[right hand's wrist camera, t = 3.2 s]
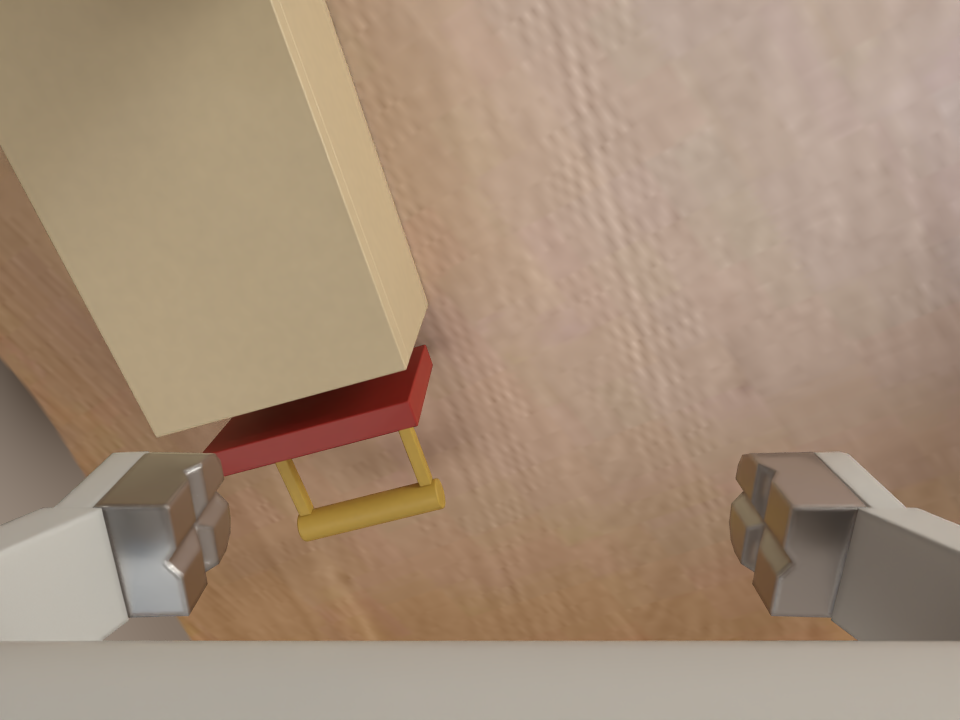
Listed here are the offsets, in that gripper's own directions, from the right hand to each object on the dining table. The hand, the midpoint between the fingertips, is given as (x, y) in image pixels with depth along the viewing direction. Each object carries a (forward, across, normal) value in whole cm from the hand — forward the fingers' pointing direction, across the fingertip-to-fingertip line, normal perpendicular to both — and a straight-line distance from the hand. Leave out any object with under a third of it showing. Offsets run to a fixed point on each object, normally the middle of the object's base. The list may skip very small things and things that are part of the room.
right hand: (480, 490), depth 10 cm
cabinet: (+23, +10, -4) cm, 25 cm away
